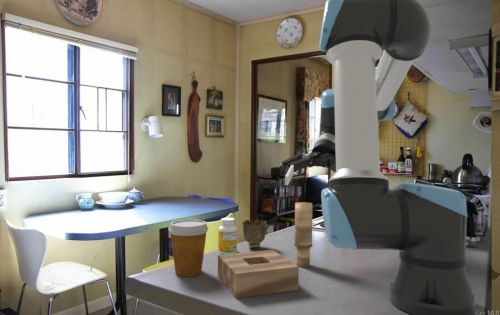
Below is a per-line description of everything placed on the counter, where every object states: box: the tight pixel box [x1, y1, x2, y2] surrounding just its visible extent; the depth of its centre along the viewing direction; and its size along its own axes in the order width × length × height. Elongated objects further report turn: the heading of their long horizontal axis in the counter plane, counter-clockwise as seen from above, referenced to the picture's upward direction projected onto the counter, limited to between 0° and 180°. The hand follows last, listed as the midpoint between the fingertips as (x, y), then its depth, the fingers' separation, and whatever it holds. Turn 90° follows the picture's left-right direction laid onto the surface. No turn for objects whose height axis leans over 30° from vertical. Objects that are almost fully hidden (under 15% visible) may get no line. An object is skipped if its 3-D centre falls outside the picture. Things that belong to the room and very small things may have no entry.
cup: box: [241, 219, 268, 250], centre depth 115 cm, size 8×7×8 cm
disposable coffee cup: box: [168, 219, 209, 277], centre depth 92 cm, size 10×10×12 cm
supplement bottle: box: [217, 217, 238, 255], centre depth 110 cm, size 5×5×10 cm
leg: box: [293, 201, 313, 268], centre depth 98 cm, size 5×5×16 cm
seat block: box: [217, 249, 300, 299], centre depth 85 cm, size 14×14×5 cm
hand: (311, 184), depth 99 cm, fingers open, 13 cm apart
